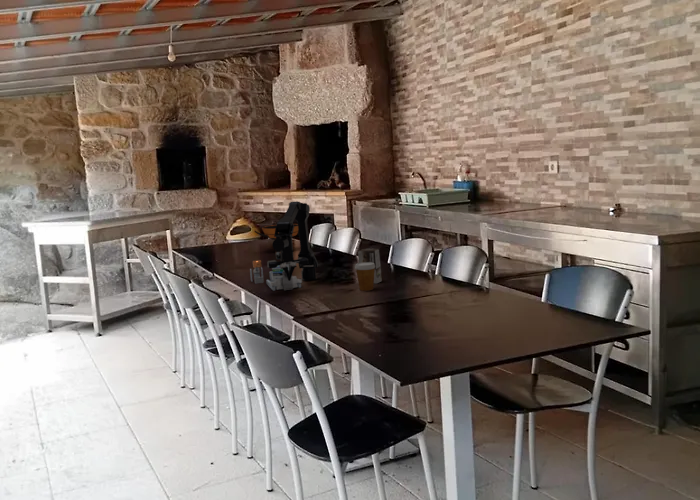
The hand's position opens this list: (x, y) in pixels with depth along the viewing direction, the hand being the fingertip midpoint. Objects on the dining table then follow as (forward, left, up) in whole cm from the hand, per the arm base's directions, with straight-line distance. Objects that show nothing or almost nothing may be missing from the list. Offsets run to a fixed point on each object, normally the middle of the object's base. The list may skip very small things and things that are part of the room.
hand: (289, 280), depth 308 cm
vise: (+3, -24, -5) cm, 25 cm away
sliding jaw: (0, -7, -5) cm, 9 cm away
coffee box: (-40, +1, -6) cm, 40 cm away
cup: (-21, -136, -6) cm, 138 cm away
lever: (+10, -35, +1) cm, 37 cm away
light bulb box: (0, -19, -6) cm, 19 cm away
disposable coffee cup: (-33, +16, -6) cm, 37 cm away
